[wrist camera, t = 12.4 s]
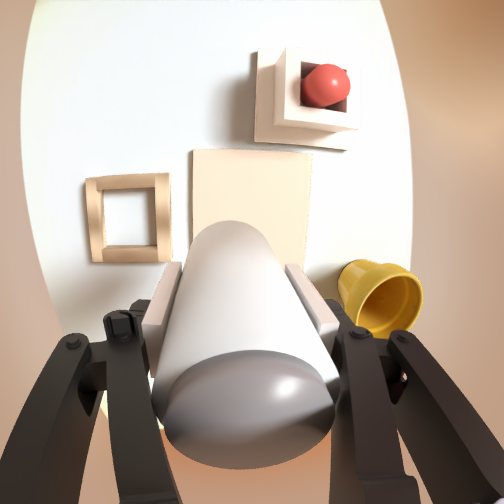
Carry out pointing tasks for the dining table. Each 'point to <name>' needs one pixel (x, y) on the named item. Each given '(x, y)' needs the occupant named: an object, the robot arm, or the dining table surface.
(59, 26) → the dining table surface
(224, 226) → the filter cartridge
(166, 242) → the socket
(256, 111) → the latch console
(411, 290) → the plant pot
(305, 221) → the sand mat
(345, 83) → the latch button
